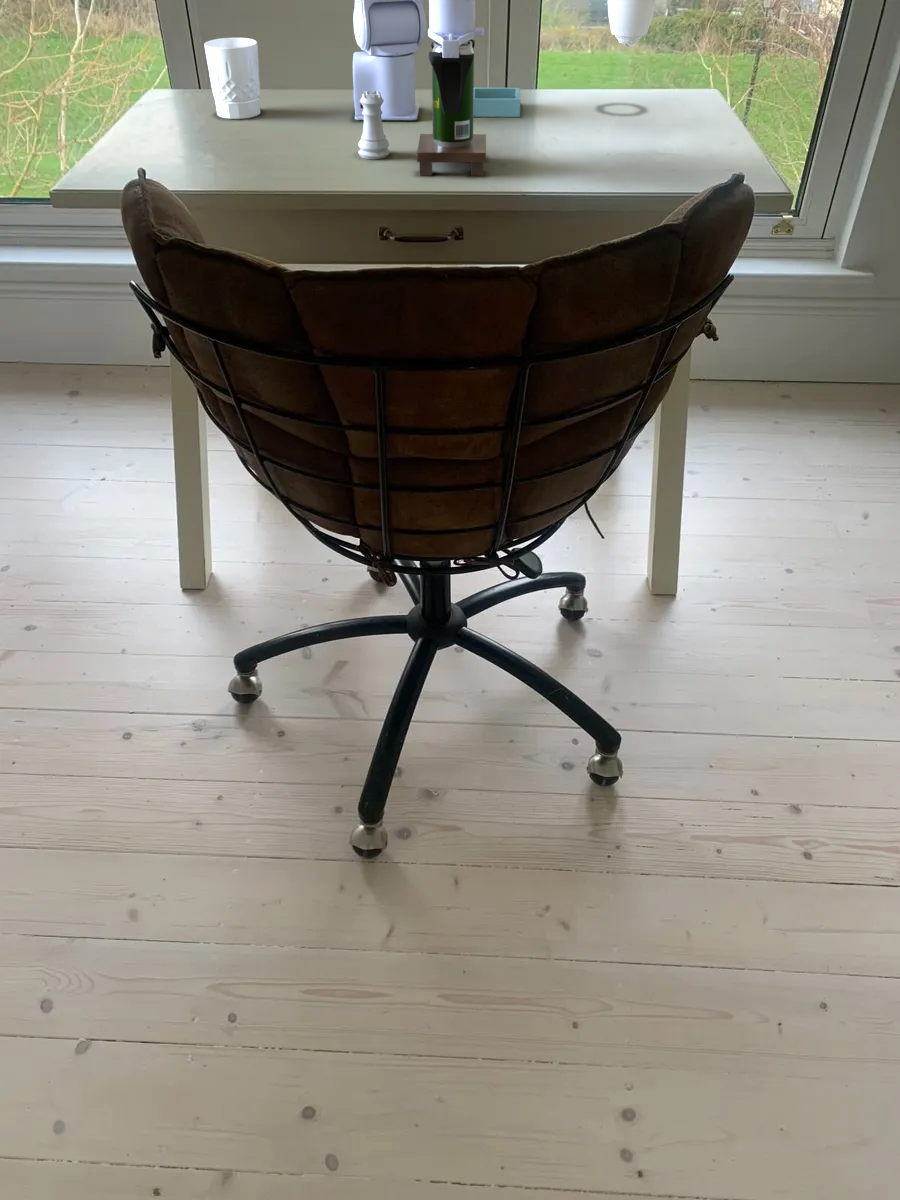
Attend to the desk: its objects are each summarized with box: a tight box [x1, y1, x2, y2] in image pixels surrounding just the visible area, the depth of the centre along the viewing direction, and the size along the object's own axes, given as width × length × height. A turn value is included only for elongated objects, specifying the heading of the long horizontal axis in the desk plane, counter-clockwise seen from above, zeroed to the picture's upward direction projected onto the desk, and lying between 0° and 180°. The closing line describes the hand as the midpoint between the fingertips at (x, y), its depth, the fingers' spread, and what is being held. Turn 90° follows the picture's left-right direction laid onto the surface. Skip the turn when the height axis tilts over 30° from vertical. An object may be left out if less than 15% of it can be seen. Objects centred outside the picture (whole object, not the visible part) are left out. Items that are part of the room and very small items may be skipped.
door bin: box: [473, 87, 521, 118], centre depth 165 cm, size 8×8×2 cm
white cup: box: [203, 37, 261, 120], centre depth 161 cm, size 8×8×10 cm
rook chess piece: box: [357, 91, 391, 160], centre depth 144 cm, size 4×4×8 cm
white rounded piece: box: [607, 0, 658, 47], centre depth 160 cm, size 7×7×21 cm
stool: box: [416, 133, 487, 177], centre depth 141 cm, size 9×9×3 cm
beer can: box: [431, 40, 475, 148], centre depth 137 cm, size 5×5×12 cm
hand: (452, 107), depth 138 cm, fingers closed on beer can, 5 cm apart
